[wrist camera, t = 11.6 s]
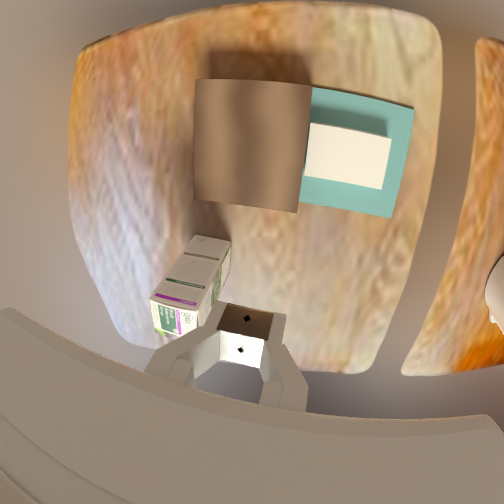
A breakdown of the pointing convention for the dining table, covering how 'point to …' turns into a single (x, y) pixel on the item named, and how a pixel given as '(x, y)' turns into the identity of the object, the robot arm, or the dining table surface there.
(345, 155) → the cream rectangular block
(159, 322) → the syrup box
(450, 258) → the dining table surface
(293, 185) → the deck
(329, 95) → the mat
